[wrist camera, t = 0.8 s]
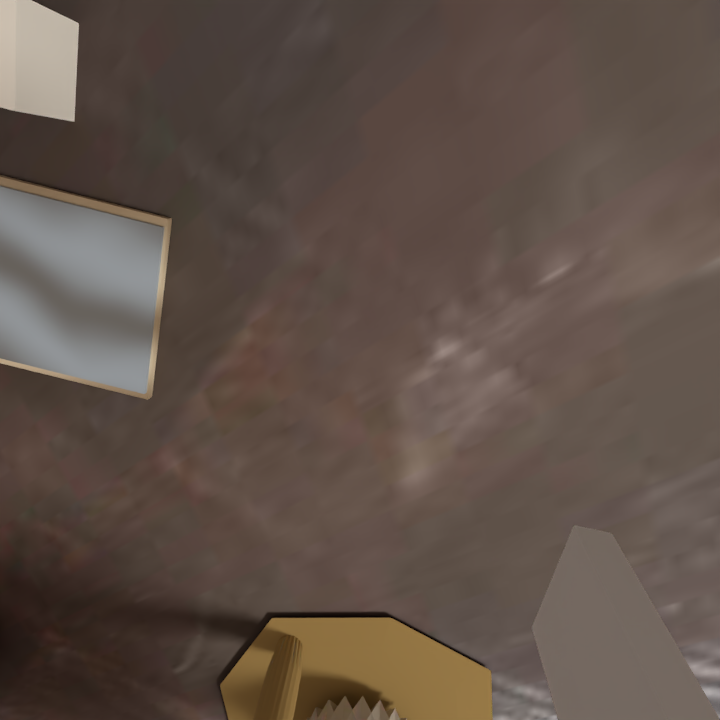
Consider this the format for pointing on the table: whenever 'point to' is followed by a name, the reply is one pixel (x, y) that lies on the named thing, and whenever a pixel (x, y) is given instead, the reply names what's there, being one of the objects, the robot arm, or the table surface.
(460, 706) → the hourglass
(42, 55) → the die
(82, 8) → the table surface
